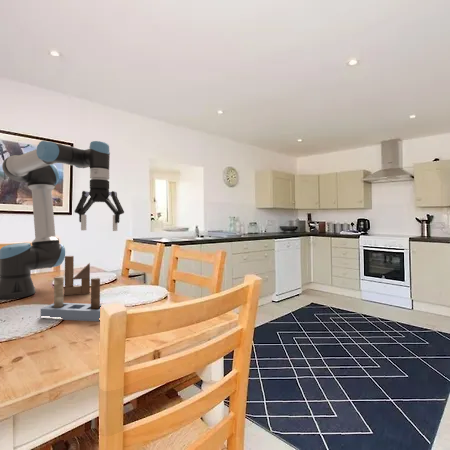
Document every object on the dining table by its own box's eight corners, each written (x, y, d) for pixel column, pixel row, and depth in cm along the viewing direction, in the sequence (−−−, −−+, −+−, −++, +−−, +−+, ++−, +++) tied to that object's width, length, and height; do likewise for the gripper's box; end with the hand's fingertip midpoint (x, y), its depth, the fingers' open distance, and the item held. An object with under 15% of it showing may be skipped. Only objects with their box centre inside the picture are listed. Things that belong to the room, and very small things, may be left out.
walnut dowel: (89, 318, 105) (89, 279, 104) (93, 315, 108) (93, 277, 107) (97, 318, 104) (97, 279, 104) (101, 315, 107) (101, 278, 107)
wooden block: (89, 293, 139) (89, 255, 138) (64, 295, 134) (64, 256, 134) (89, 291, 142) (89, 254, 141) (64, 293, 137) (64, 255, 137)
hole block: (40, 318, 104) (40, 308, 103) (55, 311, 112) (55, 302, 111) (100, 321, 102) (100, 311, 102) (110, 313, 110) (110, 304, 110)
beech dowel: (51, 316, 106) (52, 278, 106) (57, 313, 109) (57, 276, 109) (59, 317, 106) (60, 278, 105) (64, 314, 109) (65, 276, 108)
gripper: (65, 178, 119) (65, 230, 119) (124, 178, 117) (124, 231, 117) (76, 180, 126) (76, 229, 127) (132, 181, 124) (131, 230, 125)
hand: (99, 230), depth 122 cm, fingers open, 13 cm apart
